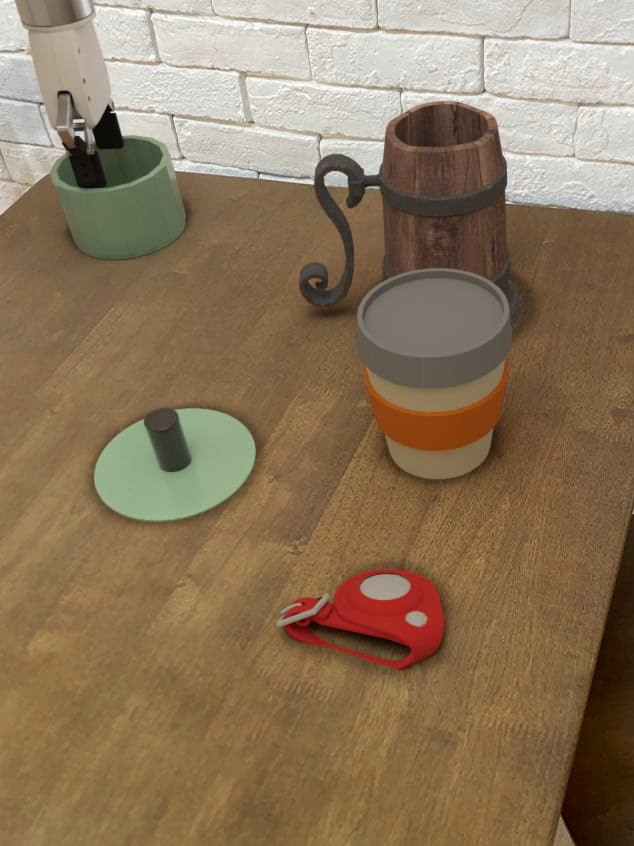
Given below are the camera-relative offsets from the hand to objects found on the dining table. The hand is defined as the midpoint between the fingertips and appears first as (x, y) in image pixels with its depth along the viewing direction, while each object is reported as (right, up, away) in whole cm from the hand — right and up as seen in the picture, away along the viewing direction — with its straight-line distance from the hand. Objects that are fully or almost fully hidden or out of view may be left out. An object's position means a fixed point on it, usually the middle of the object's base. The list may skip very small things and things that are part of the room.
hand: (102, 166), depth 108 cm
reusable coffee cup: (+38, -35, -23) cm, 57 cm away
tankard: (+36, -20, -9) cm, 42 cm away
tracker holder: (+32, -50, -36) cm, 69 cm away
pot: (+1, -5, +6) cm, 8 cm away
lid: (+14, -36, -23) cm, 45 cm away
